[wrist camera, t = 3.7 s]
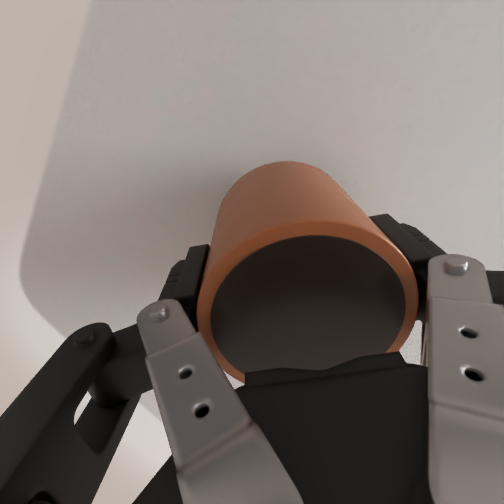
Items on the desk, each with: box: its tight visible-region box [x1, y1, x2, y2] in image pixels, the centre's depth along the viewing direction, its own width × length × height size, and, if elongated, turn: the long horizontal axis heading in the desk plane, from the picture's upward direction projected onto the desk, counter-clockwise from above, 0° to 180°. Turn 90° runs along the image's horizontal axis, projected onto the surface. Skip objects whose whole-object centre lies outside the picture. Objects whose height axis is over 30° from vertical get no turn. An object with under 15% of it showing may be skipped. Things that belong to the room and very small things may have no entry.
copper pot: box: [196, 162, 419, 384], centre depth 12 cm, size 6×6×7 cm
